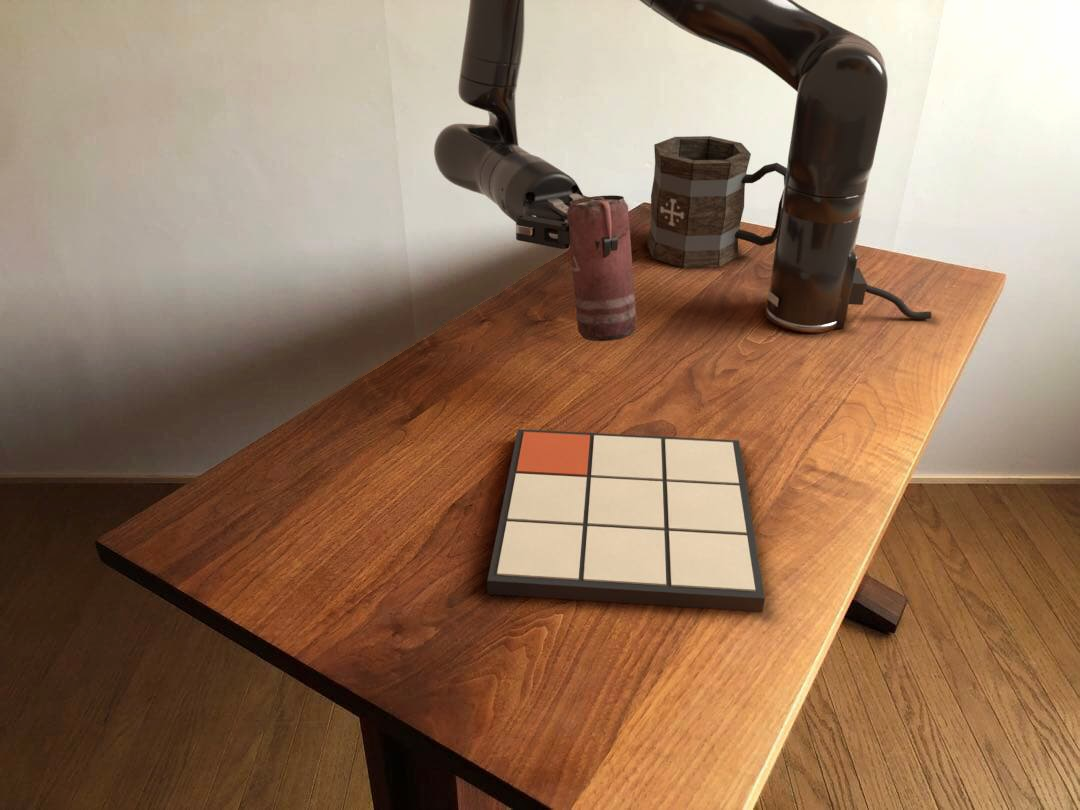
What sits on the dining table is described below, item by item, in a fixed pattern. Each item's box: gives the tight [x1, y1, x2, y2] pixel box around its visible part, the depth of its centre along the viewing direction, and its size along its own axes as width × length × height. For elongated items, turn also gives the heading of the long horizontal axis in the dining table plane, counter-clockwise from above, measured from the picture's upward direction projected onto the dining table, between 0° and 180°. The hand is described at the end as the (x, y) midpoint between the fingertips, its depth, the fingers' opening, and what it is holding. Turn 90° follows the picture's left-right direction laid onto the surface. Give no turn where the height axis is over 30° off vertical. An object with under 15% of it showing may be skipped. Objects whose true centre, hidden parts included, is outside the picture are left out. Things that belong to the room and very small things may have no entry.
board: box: [486, 428, 766, 613], centre depth 82 cm, size 22×22×2 cm
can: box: [567, 194, 637, 342], centre depth 93 cm, size 6×6×14 cm
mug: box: [646, 135, 787, 269], centre depth 130 cm, size 20×14×15 cm
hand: (611, 248), depth 90 cm, fingers closed
